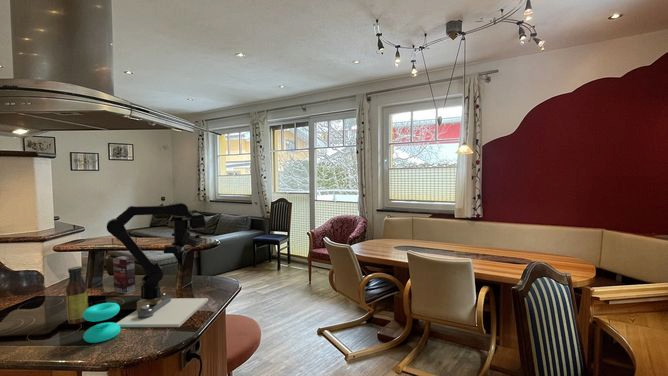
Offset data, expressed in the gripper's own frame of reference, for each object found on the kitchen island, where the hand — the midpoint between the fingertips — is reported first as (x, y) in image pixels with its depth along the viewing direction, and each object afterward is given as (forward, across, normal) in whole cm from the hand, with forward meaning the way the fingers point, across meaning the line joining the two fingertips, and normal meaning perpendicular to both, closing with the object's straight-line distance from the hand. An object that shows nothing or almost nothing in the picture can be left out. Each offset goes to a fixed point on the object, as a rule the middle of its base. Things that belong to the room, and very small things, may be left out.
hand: (181, 264), depth 149 cm
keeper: (+12, -22, +1) cm, 25 cm away
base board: (+13, -22, -5) cm, 26 cm away
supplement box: (+13, +2, +28) cm, 31 cm away
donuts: (+13, -42, +5) cm, 44 cm away
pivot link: (+12, -21, 0) cm, 24 cm away
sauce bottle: (+13, -30, +24) cm, 40 cm away
